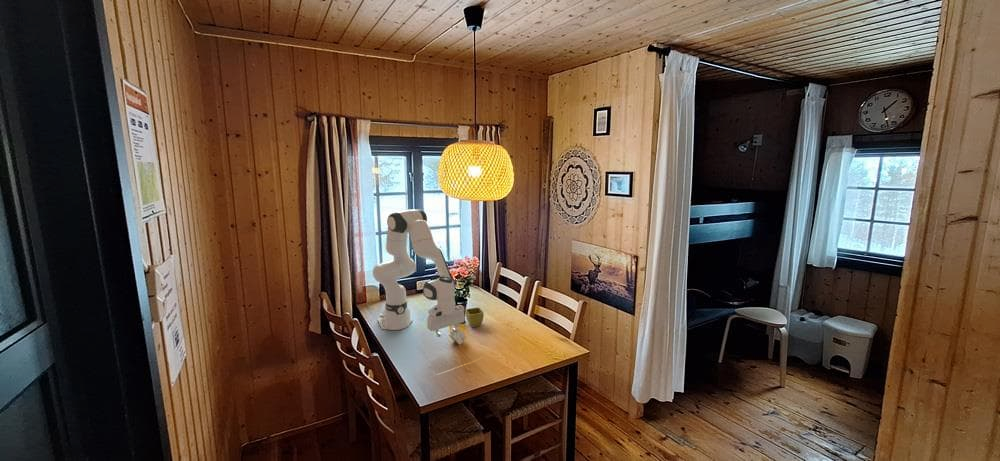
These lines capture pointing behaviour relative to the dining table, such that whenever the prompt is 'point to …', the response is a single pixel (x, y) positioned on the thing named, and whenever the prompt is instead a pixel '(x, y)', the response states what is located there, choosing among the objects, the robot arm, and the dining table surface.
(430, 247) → the robot arm
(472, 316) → the flower pot
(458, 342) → the letter cube
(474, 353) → the dining table surface
